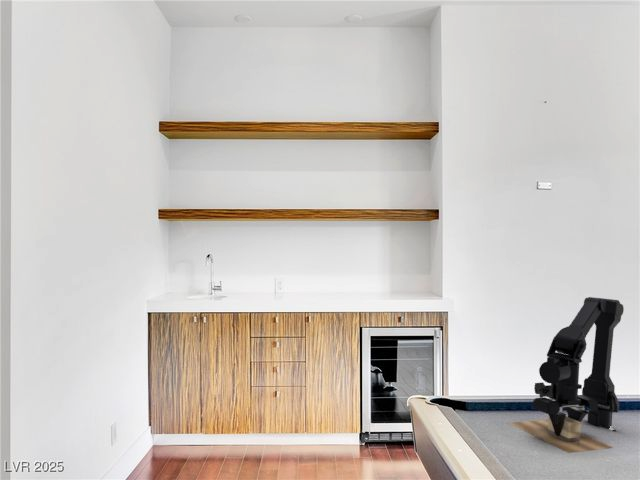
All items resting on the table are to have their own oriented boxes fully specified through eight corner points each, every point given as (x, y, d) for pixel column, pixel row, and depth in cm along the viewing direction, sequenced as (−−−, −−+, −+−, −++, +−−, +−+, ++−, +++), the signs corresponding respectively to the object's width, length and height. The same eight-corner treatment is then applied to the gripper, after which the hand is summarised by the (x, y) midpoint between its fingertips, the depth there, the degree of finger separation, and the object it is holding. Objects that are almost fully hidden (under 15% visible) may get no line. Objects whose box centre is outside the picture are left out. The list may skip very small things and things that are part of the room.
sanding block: (559, 431, 145) (560, 413, 145) (580, 440, 139) (581, 422, 139) (547, 432, 144) (548, 414, 144) (567, 442, 137) (569, 423, 137)
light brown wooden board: (549, 423, 156) (549, 419, 156) (613, 452, 135) (613, 447, 135) (507, 426, 150) (508, 422, 150) (568, 457, 130) (568, 452, 130)
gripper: (568, 370, 152) (565, 422, 152) (519, 372, 145) (516, 427, 145) (600, 380, 142) (597, 436, 142) (550, 383, 135) (547, 442, 135)
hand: (563, 434), depth 141 cm, fingers closed on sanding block, 4 cm apart
